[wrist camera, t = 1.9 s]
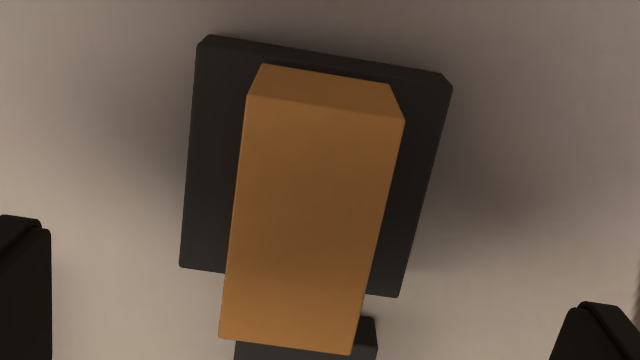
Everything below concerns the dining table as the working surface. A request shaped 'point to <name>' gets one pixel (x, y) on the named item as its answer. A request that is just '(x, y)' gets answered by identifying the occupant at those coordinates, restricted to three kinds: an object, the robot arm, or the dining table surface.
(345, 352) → the pad piece
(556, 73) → the dining table surface
